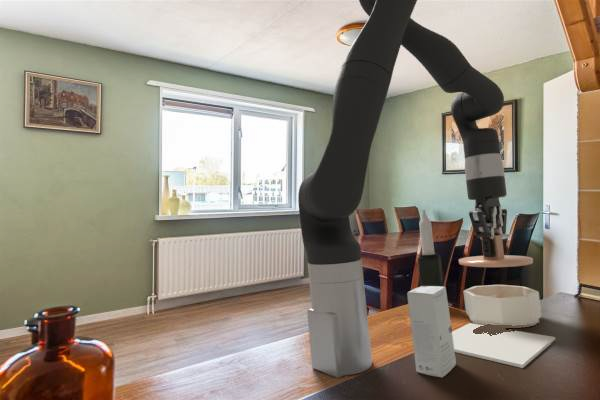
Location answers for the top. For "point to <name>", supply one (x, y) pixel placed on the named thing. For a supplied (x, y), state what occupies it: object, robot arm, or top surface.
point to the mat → (500, 345)
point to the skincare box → (431, 330)
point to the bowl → (502, 305)
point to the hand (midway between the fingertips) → (493, 255)
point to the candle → (428, 256)
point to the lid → (496, 258)
